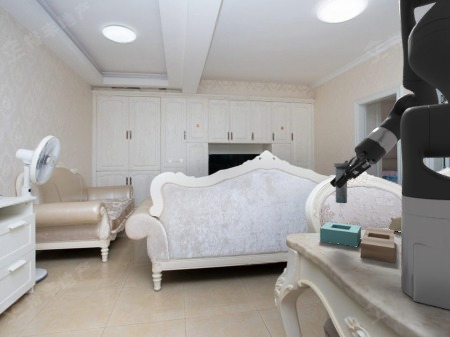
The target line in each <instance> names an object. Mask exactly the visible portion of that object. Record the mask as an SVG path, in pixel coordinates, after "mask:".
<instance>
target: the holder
mask: <svg viewBox="0 0 450 337" xmlns="http://www.w3.org/2000/svg"><path fill="white" fill-rule="evenodd" d="M360 238H361V239H362V226H361V225H357V224H356V225H355V224H348V223H337V222H331V221H327V222H325V223H324V224H323V225H322V226H321V227H320V228H319V241H320V242H321V241H325V242H324V243H327V242H331V243H330V244H334V243H339V244H338V245H340V244H346V245H351V246H350V247H352V246H358V247H359V245H360V242H361V240H360ZM359 241H360V242H359ZM358 244H359V245H358ZM346 245H345V246H346Z"/></svg>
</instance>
